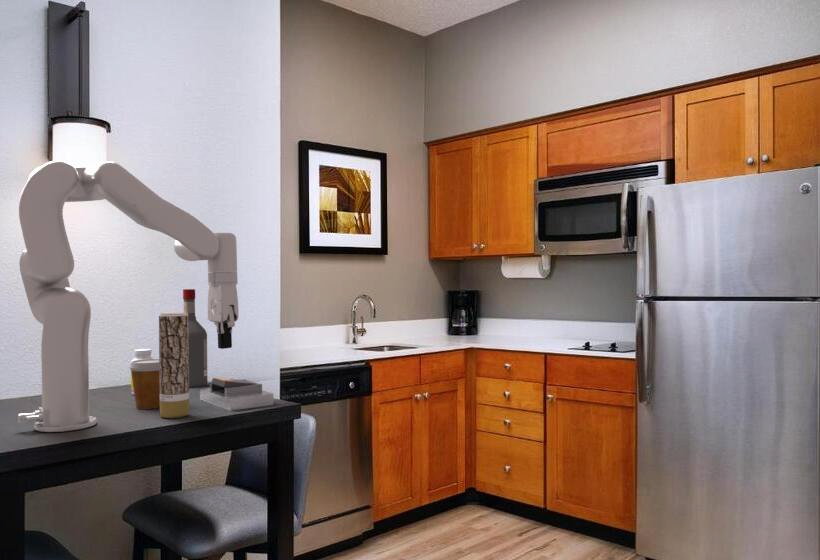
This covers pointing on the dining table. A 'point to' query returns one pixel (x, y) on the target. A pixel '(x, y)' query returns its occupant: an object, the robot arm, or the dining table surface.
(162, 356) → the paper tube
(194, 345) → the liquor
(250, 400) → the breaker panel
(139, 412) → the dining table surface
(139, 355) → the supplement bottle
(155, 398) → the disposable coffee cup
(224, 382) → the breaker rocker
